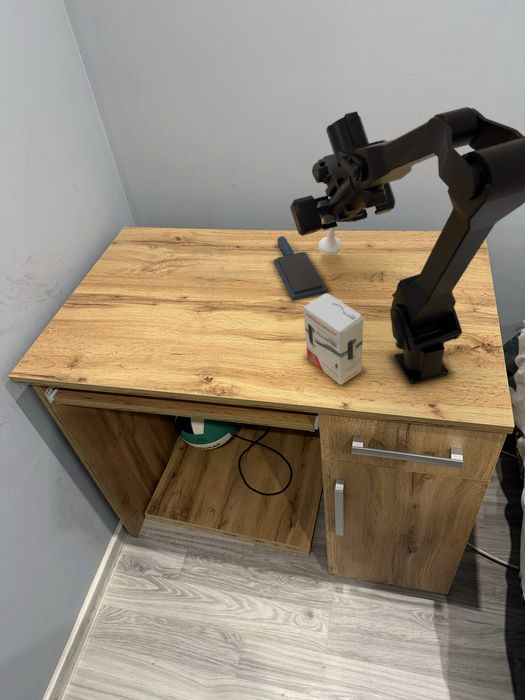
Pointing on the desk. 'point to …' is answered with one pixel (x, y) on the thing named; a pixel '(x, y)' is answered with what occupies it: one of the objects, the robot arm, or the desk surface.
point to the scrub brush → (298, 272)
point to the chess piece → (330, 243)
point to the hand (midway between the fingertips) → (330, 220)
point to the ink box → (334, 337)
